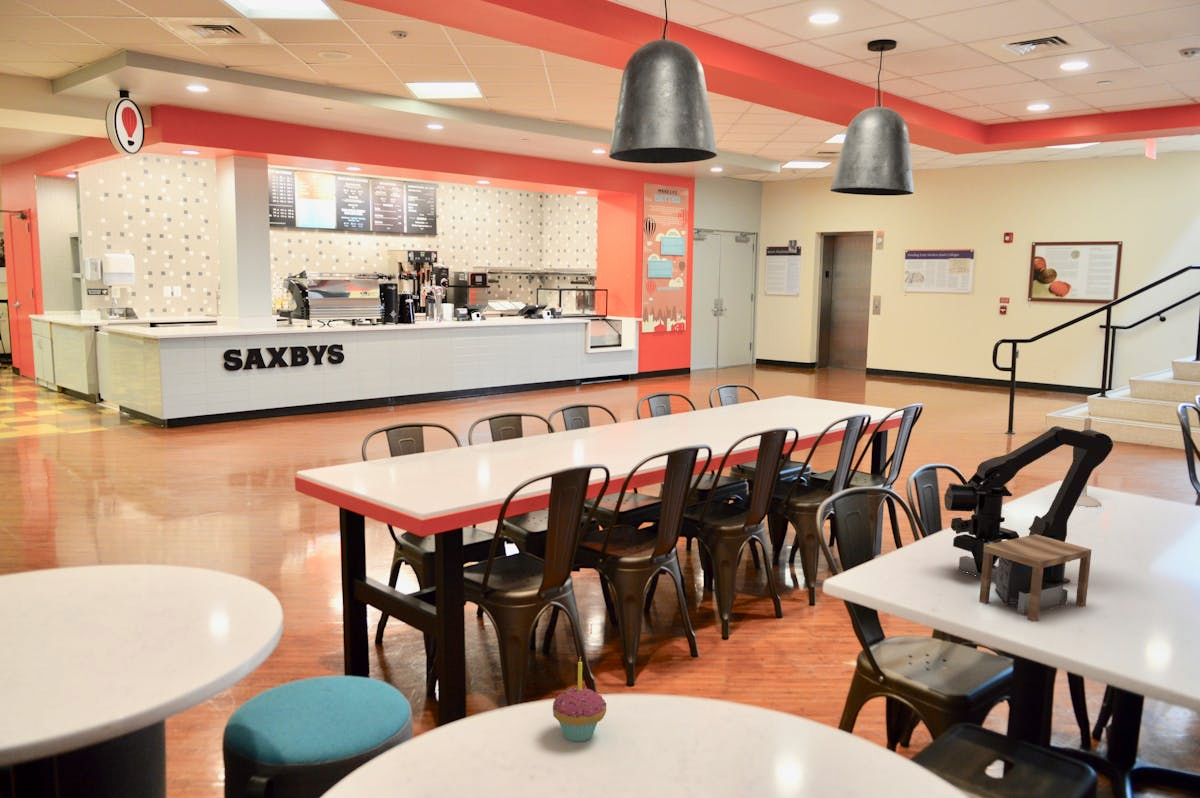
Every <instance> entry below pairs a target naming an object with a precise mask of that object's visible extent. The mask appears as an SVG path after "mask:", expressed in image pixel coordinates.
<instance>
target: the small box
mask: <svg viewBox="0 0 1200 798" xmlns="http://www.w3.org/2000/svg"><path fill="white" fill-rule="evenodd" d="M997 566H998V572H997V581H996V583H995V589H994V591H995V592H996V594H997V595H998V597H999V598H1000V600H1002V602H1003V604H1004V605H1005V606H1008V607H1009V606H1011V607H1012V606H1013V607H1018V601H1019V592H1020V591H1025V590H1029V589H1031V580H1032V570H1033V567H1032V566H1029V565H1025V564H1022V563H1019V562H1016V561H1012V560H1009V559H1006V558H1003V557H999V558H998V565H997Z"/></svg>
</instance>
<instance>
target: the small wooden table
mask: <svg viewBox="0 0 1200 798" xmlns="http://www.w3.org/2000/svg"><path fill="white" fill-rule="evenodd" d="M1092 550H1093V549H1091V548H1087V547H1084V546H1080V545H1077V544H1072V543H1069V542H1067V541H1065V542H1063V541H1059V540H1055V539H1052V538H1048V537H1044V536H1041V535H1037V534H1034V535H1030V536H1029V535H1025V536H1021V537H1020V536H1019V538H1016V539H1011V540H1006V539H1005V540H1002V542H997V543H992V544H988V545H984V552H983V564H982V575H981V578H980V587H979V589H980V590H979V600H978V601H979V603H982V604H985V605H986V604H989V603H990V598H991V597H990V596H991V585H992V584H991V583H992V582H991V575H992V564H993V555H996V556H999V557H1003V558H1006V559H1009V560H1012V561H1016V562H1019V563H1022V564H1025V565H1029V566H1032V567H1033V570H1032V580H1031V591H1030V601H1029V612H1028V614H1027V620H1029V621H1031V622H1034V621H1035V622H1038V621H1039V615H1040V612H1039V608H1040V597H1041V587H1042V582H1043V581H1042V577H1043V568H1045V567H1049V566H1052V565H1056V564H1060V563H1064V562H1066V563H1069V562H1068V561H1070V562H1072V561H1075V560H1079V559H1080V561H1079V567H1078V578H1077V588H1076V589H1077V590H1076V596H1075V597H1076V598H1075V606H1077V607H1081V608H1083V607H1086V605H1087V598H1088V586H1089V577H1090V568H1091V560H1092V559H1091V558H1092Z"/></svg>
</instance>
